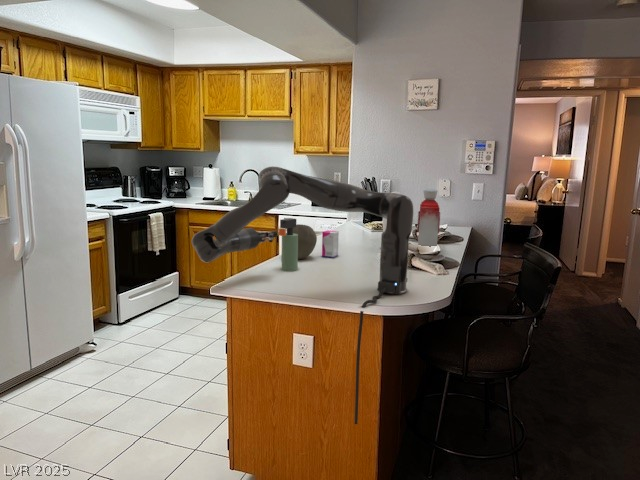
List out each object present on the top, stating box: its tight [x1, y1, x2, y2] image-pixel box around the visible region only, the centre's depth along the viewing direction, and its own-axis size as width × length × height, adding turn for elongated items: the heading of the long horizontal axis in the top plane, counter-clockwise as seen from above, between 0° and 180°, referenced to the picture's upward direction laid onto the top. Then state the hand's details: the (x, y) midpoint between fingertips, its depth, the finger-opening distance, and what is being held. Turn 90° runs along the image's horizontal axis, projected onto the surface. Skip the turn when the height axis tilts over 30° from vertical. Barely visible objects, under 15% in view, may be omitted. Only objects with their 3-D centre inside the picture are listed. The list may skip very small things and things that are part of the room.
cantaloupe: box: [293, 223, 318, 260], centre depth 213 cm, size 14×14×15 cm
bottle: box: [416, 188, 441, 247], centre depth 230 cm, size 14×10×30 cm
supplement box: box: [321, 230, 340, 259], centre depth 218 cm, size 6×6×12 cm
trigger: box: [278, 228, 287, 237], centre depth 188 cm, size 1×3×3 cm, turn 53°
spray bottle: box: [279, 217, 299, 272], centre depth 192 cm, size 8×6×20 cm
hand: (275, 233), depth 185 cm, fingers closed
